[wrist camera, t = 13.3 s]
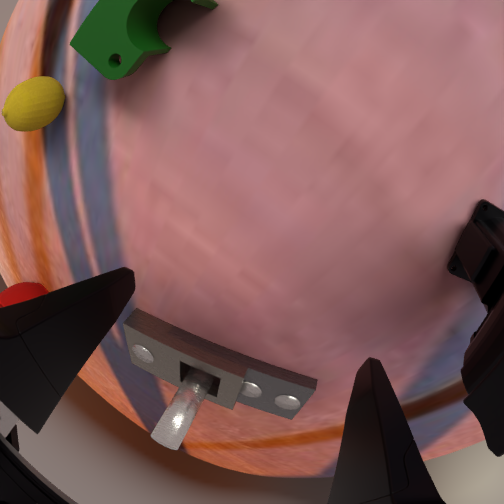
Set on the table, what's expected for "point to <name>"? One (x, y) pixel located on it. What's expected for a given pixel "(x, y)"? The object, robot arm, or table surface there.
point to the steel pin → (183, 408)
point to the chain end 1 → (179, 357)
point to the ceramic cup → (21, 293)
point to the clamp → (123, 34)
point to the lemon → (33, 104)
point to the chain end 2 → (259, 379)
